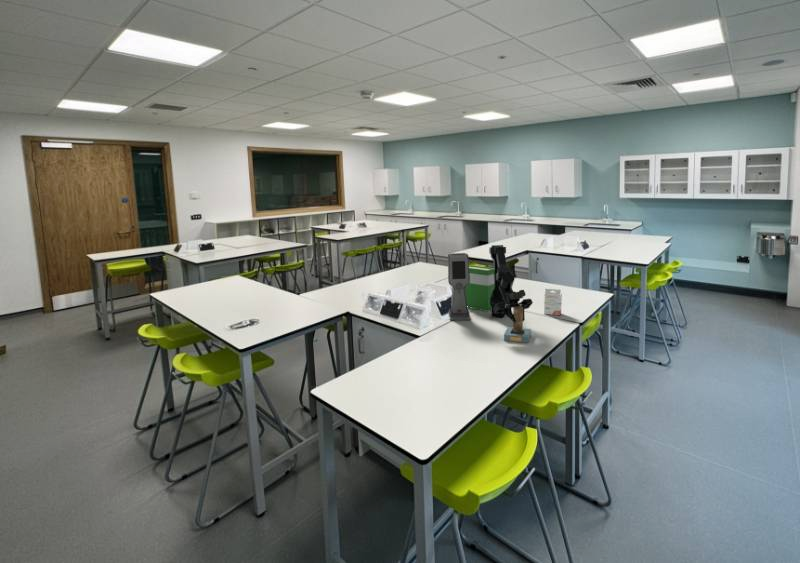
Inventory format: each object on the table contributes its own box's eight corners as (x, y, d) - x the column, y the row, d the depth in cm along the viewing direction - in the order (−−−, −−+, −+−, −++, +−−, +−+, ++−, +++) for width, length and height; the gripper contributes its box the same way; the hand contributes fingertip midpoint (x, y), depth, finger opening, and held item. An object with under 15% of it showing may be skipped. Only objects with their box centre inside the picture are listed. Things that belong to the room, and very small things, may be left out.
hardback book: (462, 306, 261) (462, 267, 256) (469, 303, 266) (469, 265, 261) (487, 311, 249) (488, 270, 244) (494, 308, 254) (495, 268, 249)
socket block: (503, 340, 203) (503, 334, 203) (507, 332, 213) (507, 327, 213) (527, 343, 199) (528, 337, 198) (530, 335, 209) (530, 329, 208)
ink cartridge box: (561, 313, 240) (562, 287, 237) (560, 316, 236) (561, 289, 232) (545, 311, 244) (546, 286, 241) (543, 314, 240) (544, 288, 236)
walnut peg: (512, 334, 205) (512, 308, 202) (513, 331, 209) (514, 305, 206) (521, 335, 203) (522, 309, 200) (522, 332, 207) (523, 306, 204)
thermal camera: (467, 313, 247) (467, 252, 239) (471, 320, 235) (471, 256, 227) (447, 313, 247) (446, 253, 239) (449, 320, 235) (448, 257, 227)
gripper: (496, 286, 202) (508, 315, 194) (531, 282, 207) (544, 310, 199) (488, 298, 211) (499, 326, 203) (521, 294, 216) (533, 321, 208)
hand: (519, 321), depth 203 cm, fingers closed on walnut peg, 4 cm apart
